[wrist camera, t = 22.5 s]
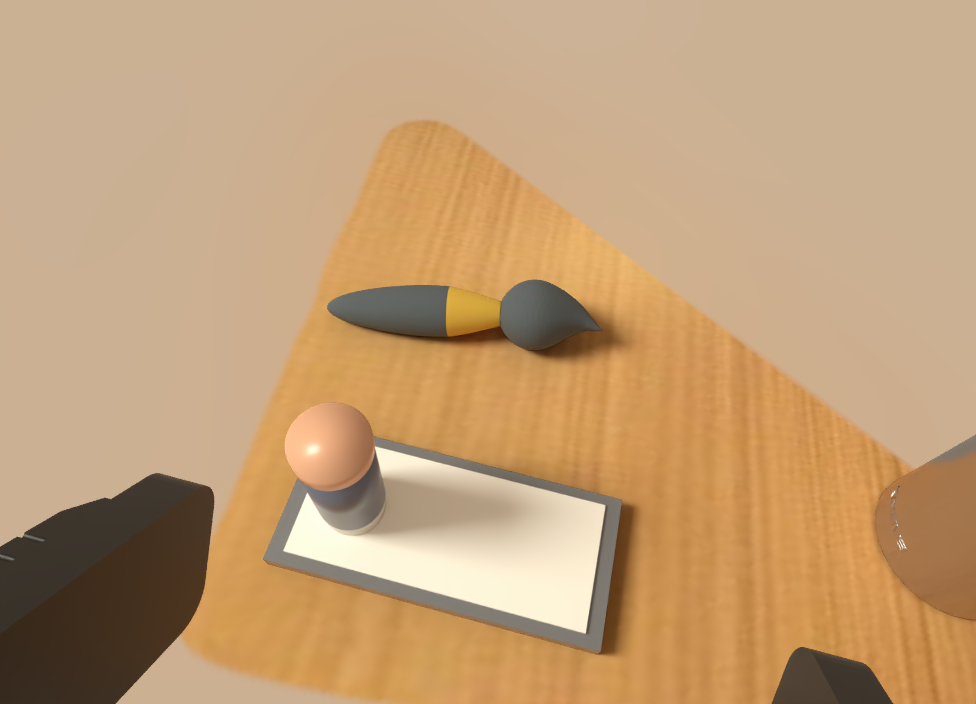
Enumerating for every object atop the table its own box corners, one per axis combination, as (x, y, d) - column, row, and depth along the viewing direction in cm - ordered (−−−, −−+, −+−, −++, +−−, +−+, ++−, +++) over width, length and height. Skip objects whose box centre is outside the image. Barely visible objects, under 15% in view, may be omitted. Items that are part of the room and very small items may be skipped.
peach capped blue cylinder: (398, 483, 40) (385, 416, 31) (373, 547, 38) (352, 494, 29) (336, 464, 40) (307, 392, 32) (308, 526, 38) (269, 467, 30)
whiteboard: (617, 505, 41) (622, 498, 40) (596, 654, 37) (601, 651, 35) (324, 430, 43) (320, 421, 42) (267, 563, 38) (262, 558, 37)
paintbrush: (324, 359, 46) (311, 319, 42) (332, 303, 49) (320, 260, 44) (596, 363, 47) (611, 325, 43) (589, 308, 50) (602, 267, 45)
